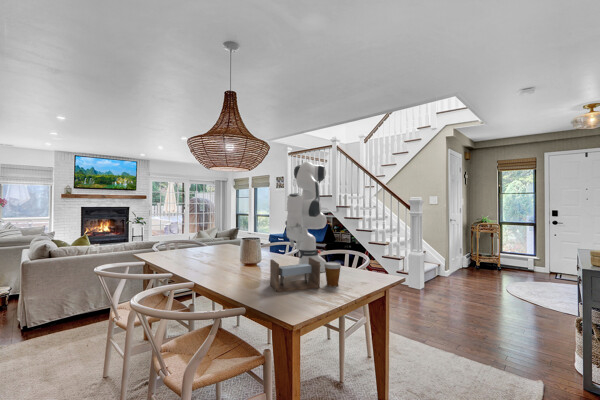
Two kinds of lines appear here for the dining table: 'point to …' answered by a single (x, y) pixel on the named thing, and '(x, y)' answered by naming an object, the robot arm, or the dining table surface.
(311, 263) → the shelf rack
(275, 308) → the dining table surface
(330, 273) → the disposable coffee cup
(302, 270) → the shelf board
